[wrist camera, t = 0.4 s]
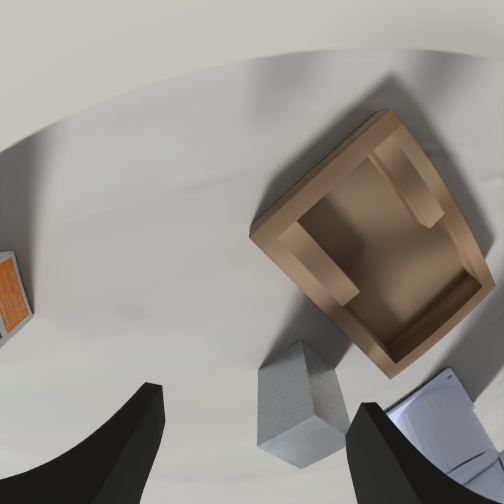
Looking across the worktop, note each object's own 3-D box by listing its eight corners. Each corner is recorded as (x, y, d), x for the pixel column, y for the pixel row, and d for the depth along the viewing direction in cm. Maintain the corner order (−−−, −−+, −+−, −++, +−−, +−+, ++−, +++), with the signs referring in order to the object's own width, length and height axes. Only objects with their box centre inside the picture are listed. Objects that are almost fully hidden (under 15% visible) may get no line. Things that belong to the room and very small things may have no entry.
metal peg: (334, 369, 22) (355, 441, 15) (293, 396, 23) (301, 469, 16) (300, 339, 21) (314, 414, 14) (258, 370, 22) (257, 446, 15)
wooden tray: (478, 272, 19) (495, 285, 17) (380, 359, 21) (390, 379, 19) (375, 112, 16) (391, 108, 14) (250, 225, 18) (249, 237, 16)
